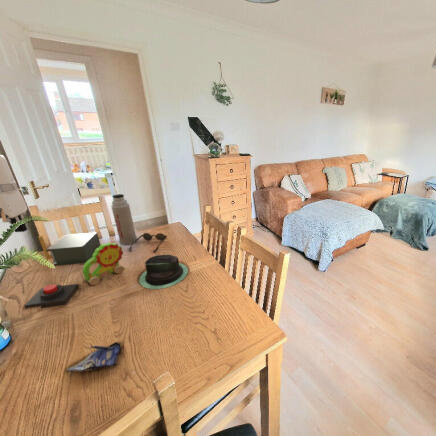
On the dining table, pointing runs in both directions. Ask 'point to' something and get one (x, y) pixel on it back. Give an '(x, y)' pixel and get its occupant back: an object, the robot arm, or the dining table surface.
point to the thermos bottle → (123, 220)
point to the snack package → (98, 358)
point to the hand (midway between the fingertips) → (21, 230)
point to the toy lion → (103, 262)
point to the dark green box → (74, 248)
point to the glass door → (45, 249)
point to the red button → (50, 289)
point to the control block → (53, 297)
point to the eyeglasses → (149, 237)
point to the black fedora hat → (162, 272)
